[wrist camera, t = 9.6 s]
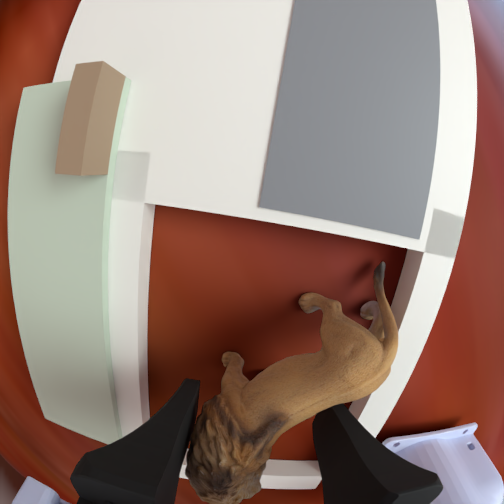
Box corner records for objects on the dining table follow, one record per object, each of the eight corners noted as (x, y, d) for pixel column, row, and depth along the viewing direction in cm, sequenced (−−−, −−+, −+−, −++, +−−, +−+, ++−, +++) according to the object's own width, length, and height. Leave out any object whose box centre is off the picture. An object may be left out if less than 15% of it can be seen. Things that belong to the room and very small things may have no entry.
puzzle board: (449, -20, 9) (461, -30, 7) (336, 473, 17) (340, 488, 16) (138, -73, 8) (131, -86, 6) (81, 432, 17) (74, 445, 15)
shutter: (131, 80, 10) (103, 60, 7) (123, 442, 15) (111, 470, 12) (30, 89, 10) (-3, 80, 7) (48, 413, 15) (32, 435, 12)
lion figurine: (241, 421, 16) (236, 524, 9) (183, 383, 15) (151, 490, 8) (402, 286, 14) (490, 364, 6) (350, 225, 13) (441, 280, 6)
